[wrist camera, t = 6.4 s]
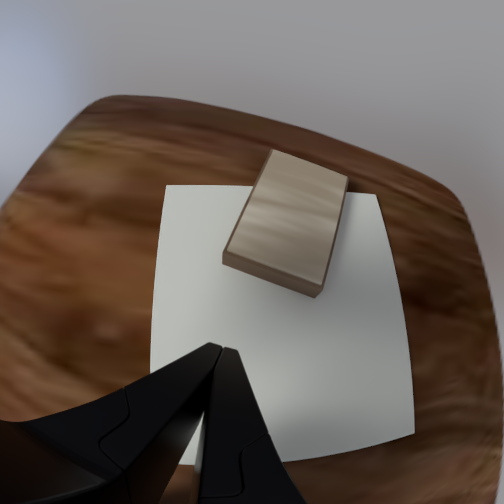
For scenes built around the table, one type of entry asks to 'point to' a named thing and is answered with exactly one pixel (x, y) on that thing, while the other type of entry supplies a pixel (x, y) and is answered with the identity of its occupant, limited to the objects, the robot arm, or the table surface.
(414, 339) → the table surface
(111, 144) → the table surface
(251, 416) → the robot arm
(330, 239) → the tile
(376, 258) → the mat
